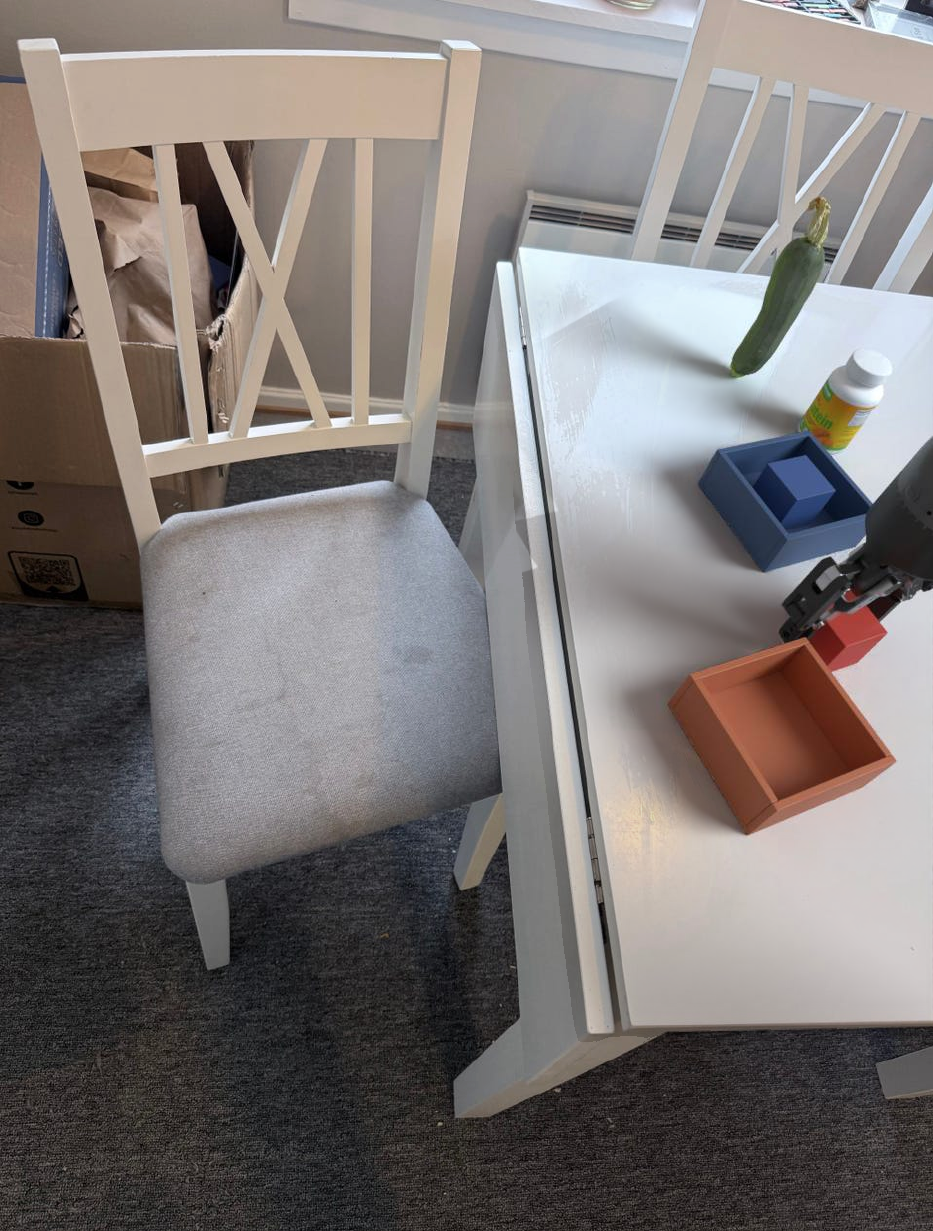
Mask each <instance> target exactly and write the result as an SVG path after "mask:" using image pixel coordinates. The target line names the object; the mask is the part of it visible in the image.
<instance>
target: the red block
mask: <svg viewBox="0 0 933 1231" xmlns="http://www.w3.org/2000/svg"><path fill="white" fill-rule="evenodd" d="M846 592H847V593H846V594H845V595H844V597H845V599H846V600H847V601H848V602H850V601H853V600H855V599H856V598H858V597H856V596H855V595H854V594H853V593H852V591H851V590H850V589H848V590H846ZM833 605H834V603H833V604H832V605H831V606H830V607H829V608H828V609H827V610H826V611H828V610H829V609H831V608H832V607H833ZM826 611H825V612H826ZM825 612H824V613H825ZM888 634H889V632H888V631H887V630H886V628H885V626H884V625H882V623H881V622H879V621H878V620H877V618H876V617H875V616H874V615H873V613H872V612H871V611H870V610H869V608H868V607H867V606H864V607H863V608H861V609H860V610H858V611H857V612H855V613H854V614H852V615H849V616H847V615H844V614H840V615H839V616H837V617H836V618H834V619H833V620H831V621H830V622H828V623H827V624H825V625H824V626H823V627H822V628H821V629H820V630H819V631H818V632H817V633H816V634H815V635H814V636H813V637H812V638H811V639H810V640H809V643H810V644H811V645H812V647H813V648H814V649H815V651H816V652H817V653H818V655H819V656H820V657H821V659H822V660H823V661H824V663H825V664H826V666H827V667H828V668H829V670H830V671H831V672H832V673H833V672H835V671H838V670H841V669H845V668H847V667H850V666H854V665H856V664H858V663H859V662H860V661H861V660H862V659H863V658H864V657H865V656H866V655H867V654H869V652H870V651H871V650H872V649H873V648H874V647H876V645H878V643H880V641H881V640H883V638H885V637H886V636H887V635H888Z"/></svg>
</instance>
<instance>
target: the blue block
mask: <svg viewBox="0 0 933 1231" xmlns="http://www.w3.org/2000/svg"><path fill="white" fill-rule="evenodd" d="M752 488H753V489H754V490H755V492H756V493H757V494H758V495H759V497H760V498H761V499H762V501H763V502H764V503H765V504H766V506H767V507H768V508H769V510H770V511H771V512H772V513H773V515H774V516H775V517H776V518H777V520H778V521H779V522H780V524H781V525H782V526H783V527H784V529H785V530H790V529H794V528H798V527H802V526H805V525H809V524H811V523H812V522H813V520H814V519H815V518H816V516H817V515H818V514H819V512H820V511H821V510H822V508H823V507H824V506H825V504H826V503H827V502H828V500H829V499H830V498H831V496H832V495H833V494H834V492H835V491H836V490H835V489H834V488H833V486H832V485H831V484H830V483H829V482H828V481H827V479H826V478H825V477H824V476H823V475H822V474H821V472H820V471H819V470H818V469H817V468H816V466H815V465H814V464H813V463H812V462H811V461H810V459H809V458H808V457H807V456H806V455H804V456H800V457H795V458H791V459H786V460H782V461H777V462H772V463H768V464H767V465H766V467H765V468H764V470H763V472H762V473H761V475H760V476H759V478H758V479H757V481H756V483H755V484H754V486H753V487H752Z"/></svg>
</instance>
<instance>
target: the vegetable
mask: <svg viewBox="0 0 933 1231" xmlns="http://www.w3.org/2000/svg"><path fill="white" fill-rule="evenodd" d="M831 208H832V207H831V206H830V204H829V203H828V201H827V199H826V198H825V197H824V196H817V197H815V198H813V199H812V200H810V201H809V203H808V209H807V212H811V211H812V210H814V209H815V211H814V212H813V213H812V215H811V217H810V220H809V222H808V224H807V227H806V228H807V230H806V232H804V233H803V235H804V236H802V237H797V238H794V239H793V240H791V241H789V243H787V244H786V245H785V247H784V248H783V249H782V250H781V252H780V254H779V255H778V257H777V259H776V260H775V262H774V266H773V269H772V271H771V273H770V274H771V275H770V278H769V281H768V283H767V286H766V289H765V293H764V296H763V300H762V305H761V308H760V311H759V313H758V315H757V317H756V319H755V320H754V322H753V323H752V324H751V326H750V327H749V329H748V331H747V332H746V334H745V335H744V336H743V339H742V341H741V342H740V344H739V345H738V347H737V348H736V349H735V351H734V353H733V355H732V357H731V362H730V364H729V368H730V369H731V371H730V375H731V376H733V377H734V378H737V379H738V378H743V377H745V376H749V375H753V374H756V373H758V372H759V371H760V370H762V368H763V367H764V366H765V365H766V364H767V363H768V361H769V360H770V359H771V358H772V357H773V355H774V354H775V353H776V351H778V350H777V349H778V348H779V346H780V345H781V343H782V342H783V341H784V338H785V337H786V335H787V333H788V332H789V330H790V329H791V327H792V326H793V325H794V323H795V322H796V320H797V318H798V317H799V314H800V313H801V312H802V309H803V307H804V305H805V303H806V302H807V301H808V299H809V298H810V296H811V295H812V293H813V291H814V289H815V287H816V285H817V283H818V280H819V279H820V276H821V274H822V272H823V270H824V265H825V260H826V253H825V249H824V247H823V242H824V241H825V240H826V238H827V236H828V232H829V220H830V216H831V211H830V209H831Z"/></svg>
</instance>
